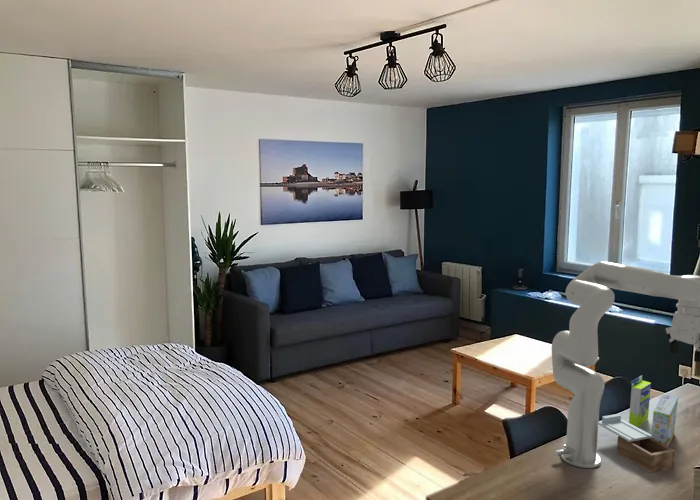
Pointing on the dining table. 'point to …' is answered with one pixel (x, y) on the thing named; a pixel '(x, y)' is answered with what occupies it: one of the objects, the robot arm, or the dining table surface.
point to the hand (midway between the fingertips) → (685, 357)
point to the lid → (623, 428)
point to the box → (639, 401)
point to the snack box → (664, 419)
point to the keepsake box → (647, 454)
